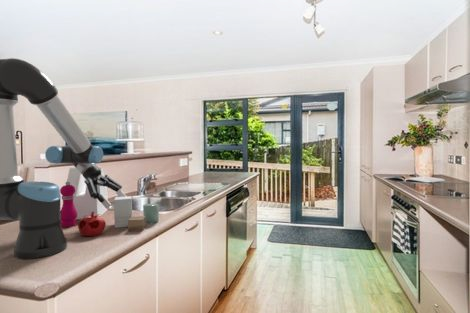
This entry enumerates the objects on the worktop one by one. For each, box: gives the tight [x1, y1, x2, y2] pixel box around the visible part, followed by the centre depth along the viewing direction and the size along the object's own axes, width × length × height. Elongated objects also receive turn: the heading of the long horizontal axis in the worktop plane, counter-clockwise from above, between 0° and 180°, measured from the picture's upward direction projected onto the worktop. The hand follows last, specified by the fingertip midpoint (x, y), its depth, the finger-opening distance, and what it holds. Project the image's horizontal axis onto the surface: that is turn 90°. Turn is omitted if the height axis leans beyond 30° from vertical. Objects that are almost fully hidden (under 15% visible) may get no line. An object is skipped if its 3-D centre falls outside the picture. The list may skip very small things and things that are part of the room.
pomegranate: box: [77, 212, 107, 237], centre depth 114 cm, size 10×10×9 cm
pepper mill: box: [59, 181, 77, 228], centre depth 128 cm, size 7×7×20 cm
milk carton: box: [66, 166, 109, 220], centre depth 148 cm, size 19×15×25 cm
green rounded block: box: [142, 203, 160, 224], centre depth 133 cm, size 7×7×8 cm
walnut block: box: [127, 215, 147, 232], centre depth 122 cm, size 6×6×5 cm
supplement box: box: [113, 195, 133, 229], centre depth 128 cm, size 7×7×13 cm
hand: (118, 203), depth 130 cm, fingers open, 13 cm apart
